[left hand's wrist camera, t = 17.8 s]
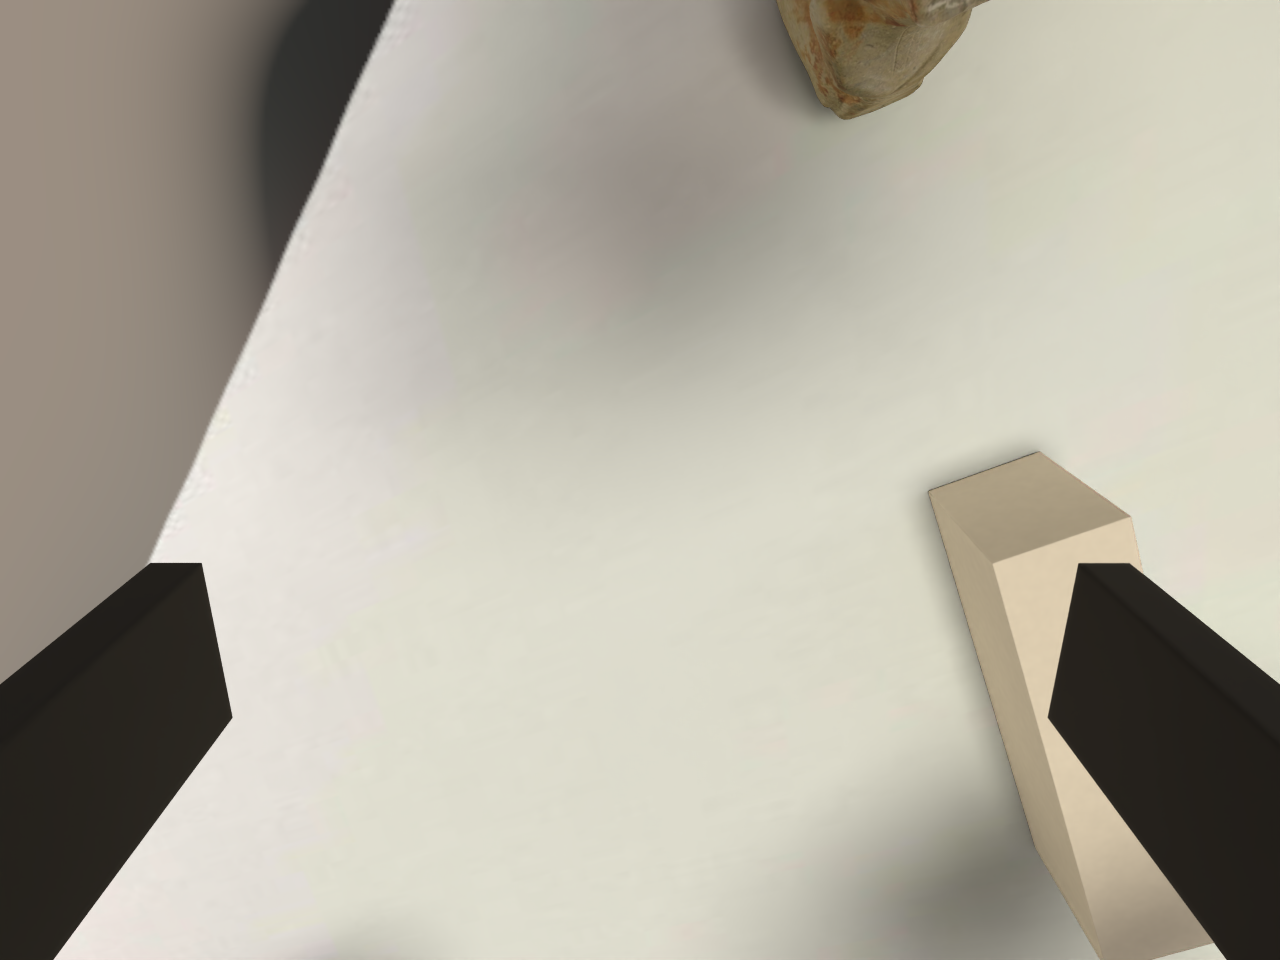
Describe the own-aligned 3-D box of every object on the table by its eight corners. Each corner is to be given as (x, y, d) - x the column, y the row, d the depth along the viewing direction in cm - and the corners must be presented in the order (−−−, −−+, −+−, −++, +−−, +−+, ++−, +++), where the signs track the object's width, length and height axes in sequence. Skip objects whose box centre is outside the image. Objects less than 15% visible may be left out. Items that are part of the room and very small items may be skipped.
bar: (927, 490, 44) (991, 563, 36) (1040, 451, 43) (1131, 516, 35) (1035, 847, 52) (1107, 972, 44) (1130, 819, 51) (1222, 941, 43)
